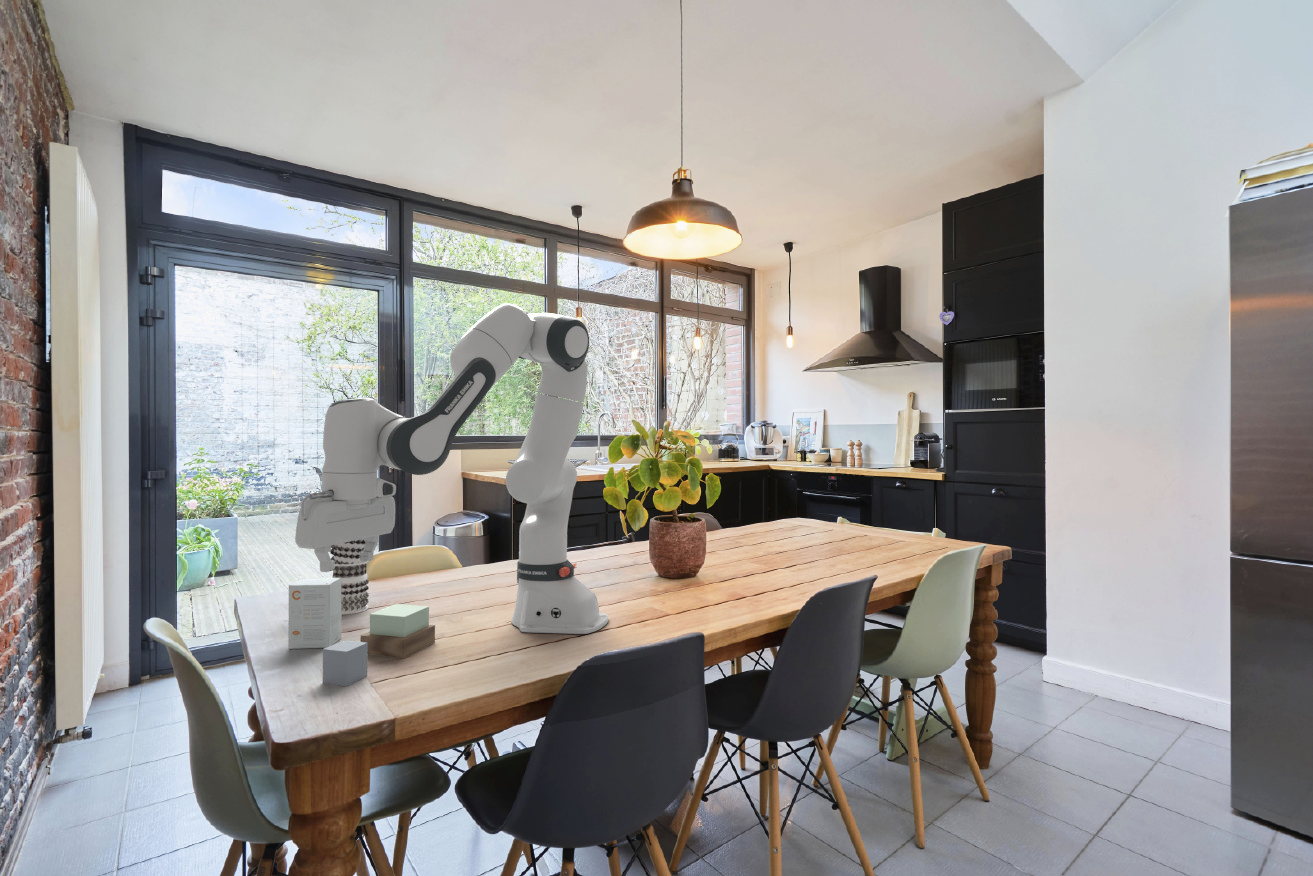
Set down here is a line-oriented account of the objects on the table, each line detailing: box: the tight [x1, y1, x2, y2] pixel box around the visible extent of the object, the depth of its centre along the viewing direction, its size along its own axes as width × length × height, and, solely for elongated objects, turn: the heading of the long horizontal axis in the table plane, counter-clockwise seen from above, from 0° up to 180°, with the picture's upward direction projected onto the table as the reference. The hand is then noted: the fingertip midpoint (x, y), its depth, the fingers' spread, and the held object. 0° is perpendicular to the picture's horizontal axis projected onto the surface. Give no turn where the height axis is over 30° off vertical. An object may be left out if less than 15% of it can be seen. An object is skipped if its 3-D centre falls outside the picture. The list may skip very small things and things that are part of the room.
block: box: [322, 639, 368, 687], centre depth 109 cm, size 5×5×6 cm
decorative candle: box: [329, 539, 370, 615], centre depth 153 cm, size 9×9×25 cm
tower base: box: [360, 624, 436, 659], centre depth 126 cm, size 10×10×4 cm
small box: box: [287, 577, 343, 650], centre depth 128 cm, size 8×6×13 cm
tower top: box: [369, 603, 430, 637], centre depth 126 cm, size 8×8×4 cm
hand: (347, 566), depth 110 cm, fingers open, 8 cm apart
